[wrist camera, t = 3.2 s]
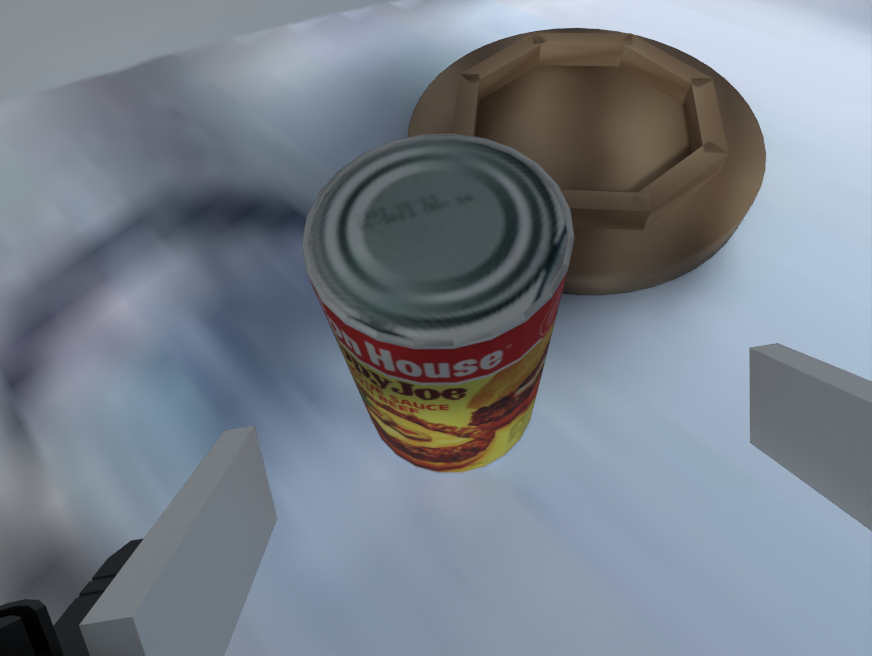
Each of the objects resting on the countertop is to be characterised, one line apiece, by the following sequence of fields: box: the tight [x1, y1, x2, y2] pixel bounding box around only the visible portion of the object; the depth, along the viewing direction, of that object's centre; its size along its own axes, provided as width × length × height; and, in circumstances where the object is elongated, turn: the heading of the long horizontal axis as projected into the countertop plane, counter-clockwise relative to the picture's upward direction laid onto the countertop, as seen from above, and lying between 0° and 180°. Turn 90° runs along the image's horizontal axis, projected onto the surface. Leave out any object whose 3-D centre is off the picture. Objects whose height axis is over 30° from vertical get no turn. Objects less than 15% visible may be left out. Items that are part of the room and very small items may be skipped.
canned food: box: [302, 134, 574, 473], centre depth 21 cm, size 8×8×12 cm
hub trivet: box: [408, 28, 766, 295], centre depth 32 cm, size 20×20×3 cm
